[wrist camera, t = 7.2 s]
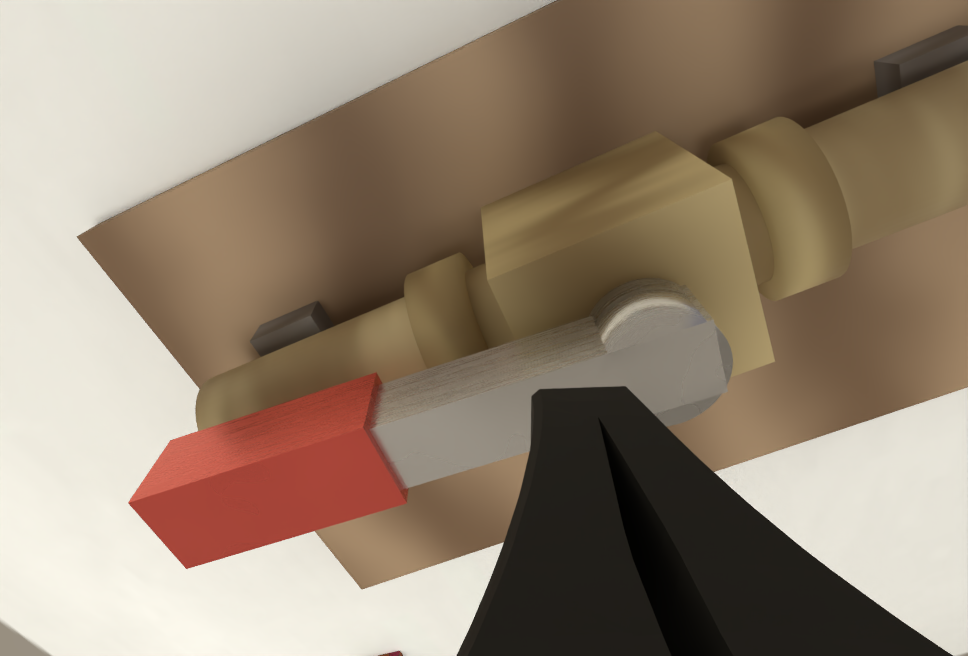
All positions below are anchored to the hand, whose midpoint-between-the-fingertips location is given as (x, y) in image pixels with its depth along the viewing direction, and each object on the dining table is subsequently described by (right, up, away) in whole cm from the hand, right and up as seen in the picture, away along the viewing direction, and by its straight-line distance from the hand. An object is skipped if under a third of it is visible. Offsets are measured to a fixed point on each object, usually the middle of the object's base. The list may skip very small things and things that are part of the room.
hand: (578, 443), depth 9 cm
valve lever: (-3, 0, +4) cm, 5 cm away
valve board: (+2, +3, +10) cm, 11 cm away
